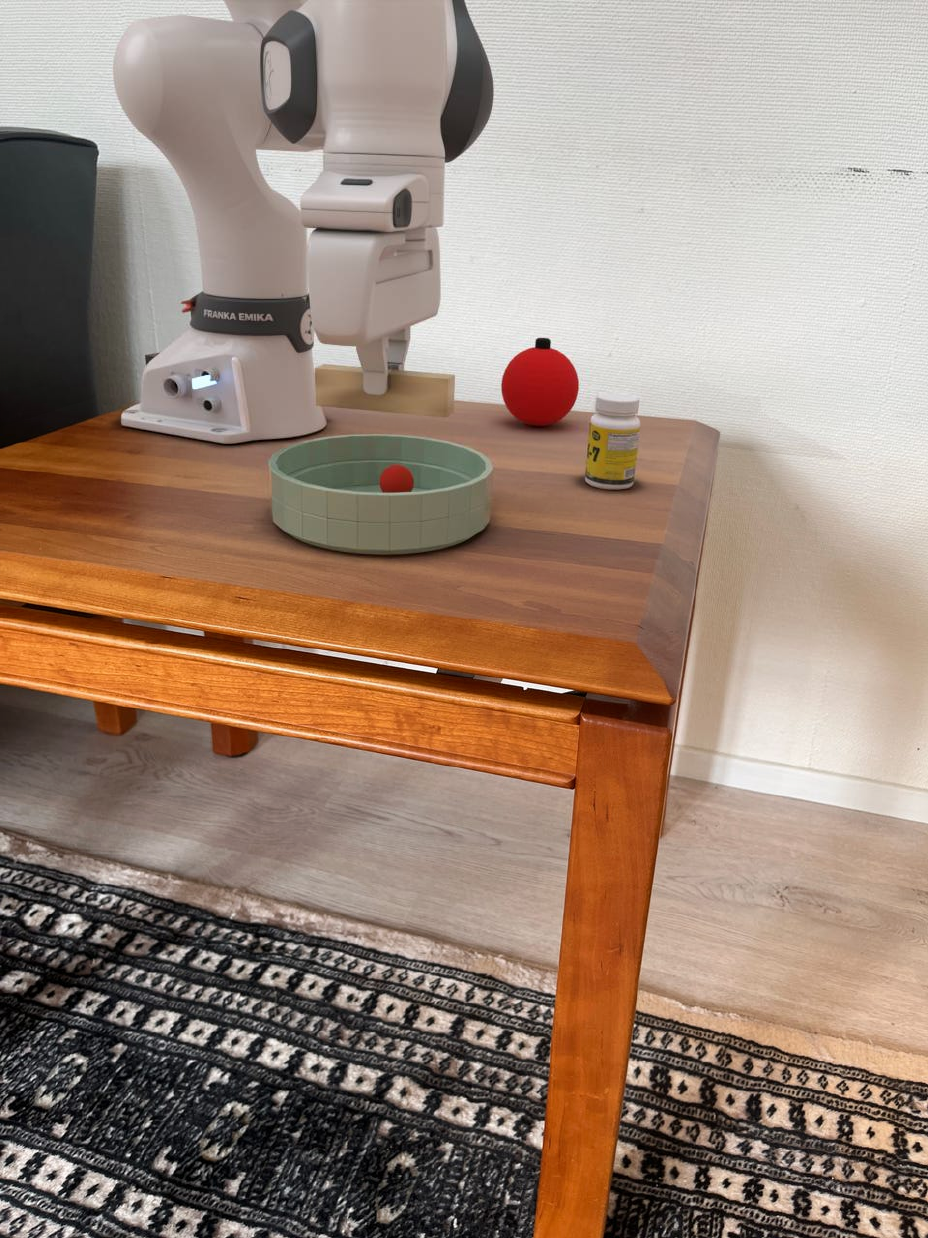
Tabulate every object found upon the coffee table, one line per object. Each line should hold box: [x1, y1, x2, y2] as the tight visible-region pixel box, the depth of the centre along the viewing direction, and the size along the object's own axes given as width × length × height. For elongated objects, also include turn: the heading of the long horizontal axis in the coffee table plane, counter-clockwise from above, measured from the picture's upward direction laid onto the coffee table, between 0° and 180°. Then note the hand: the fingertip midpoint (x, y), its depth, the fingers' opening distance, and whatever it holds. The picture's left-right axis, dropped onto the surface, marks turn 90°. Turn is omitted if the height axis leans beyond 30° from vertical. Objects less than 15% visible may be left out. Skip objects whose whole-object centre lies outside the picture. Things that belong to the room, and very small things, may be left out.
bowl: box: [267, 433, 494, 556], centre depth 82 cm, size 18×18×5 cm
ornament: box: [500, 337, 580, 427], centre depth 114 cm, size 9×9×10 cm
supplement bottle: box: [584, 391, 641, 491], centre depth 94 cm, size 5×5×8 cm
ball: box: [379, 465, 414, 493], centre depth 86 cm, size 3×3×3 cm
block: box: [314, 363, 456, 418], centre depth 78 cm, size 11×2×3 cm, turn 75°
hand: (384, 389), depth 78 cm, fingers closed on block, 2 cm apart
